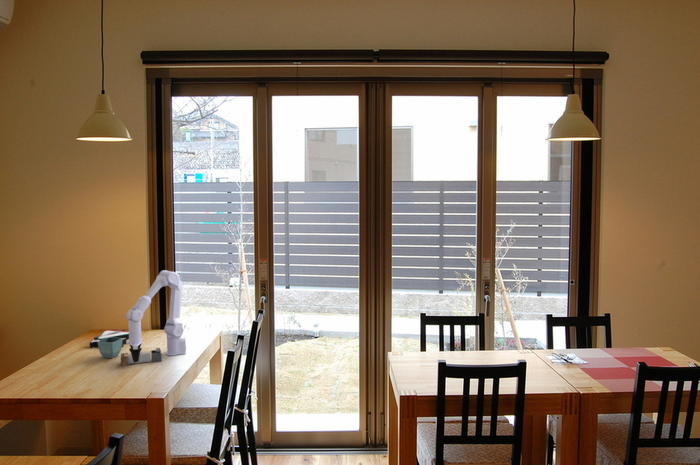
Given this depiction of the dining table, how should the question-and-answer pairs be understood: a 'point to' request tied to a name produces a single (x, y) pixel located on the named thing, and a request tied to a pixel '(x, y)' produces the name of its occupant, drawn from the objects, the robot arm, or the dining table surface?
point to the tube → (142, 357)
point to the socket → (124, 359)
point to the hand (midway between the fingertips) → (136, 359)
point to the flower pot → (110, 347)
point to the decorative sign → (110, 334)
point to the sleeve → (156, 355)
